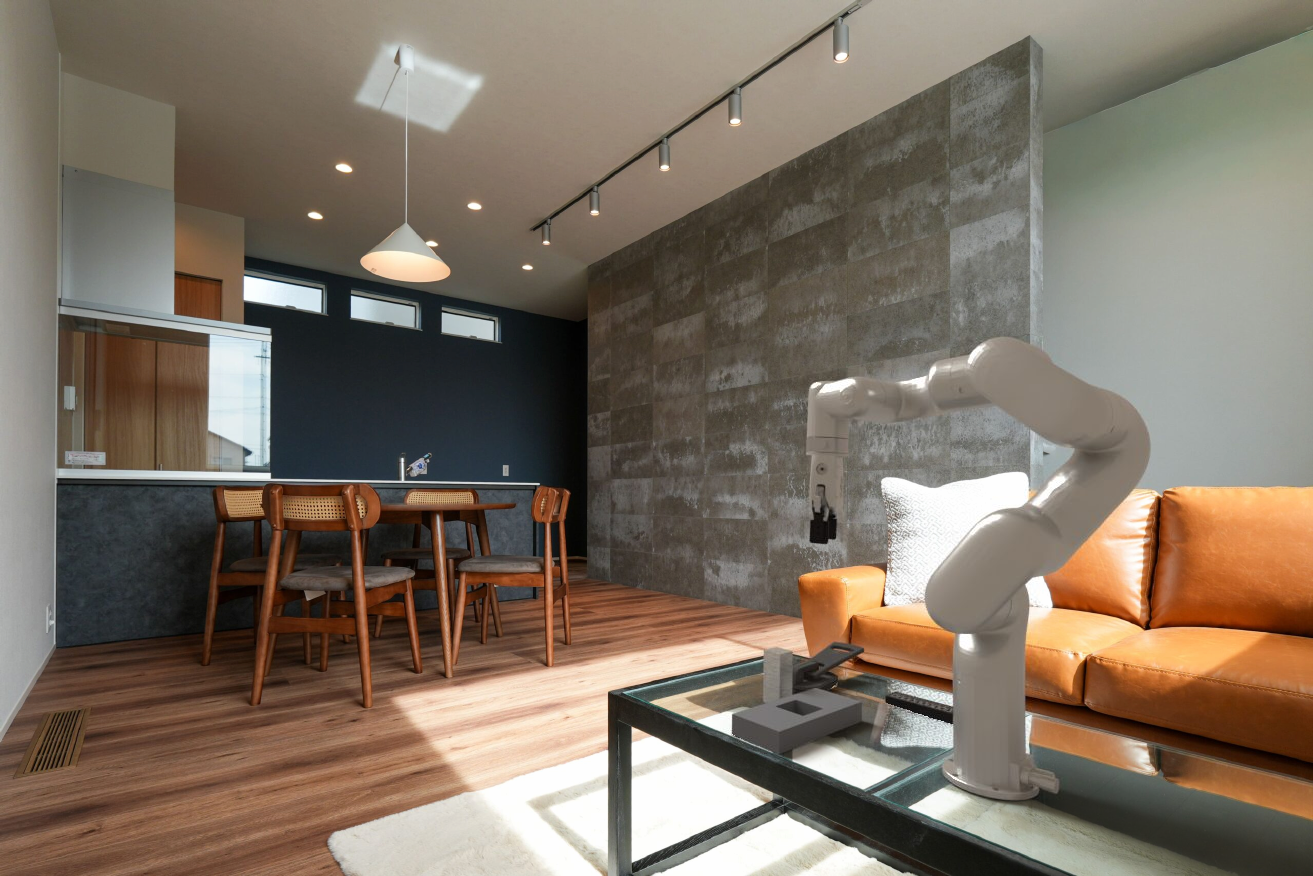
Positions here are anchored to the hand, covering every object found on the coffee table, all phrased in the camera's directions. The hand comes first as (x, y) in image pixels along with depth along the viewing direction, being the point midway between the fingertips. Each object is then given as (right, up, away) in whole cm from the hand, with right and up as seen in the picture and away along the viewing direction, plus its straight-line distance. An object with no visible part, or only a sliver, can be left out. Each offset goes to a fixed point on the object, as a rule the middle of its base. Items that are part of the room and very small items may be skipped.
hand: (823, 541), depth 120 cm
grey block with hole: (-6, -32, -6) cm, 33 cm away
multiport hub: (+21, -34, +4) cm, 40 cm away
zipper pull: (+5, -35, +21) cm, 41 cm away
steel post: (-7, -33, +8) cm, 35 cm away
